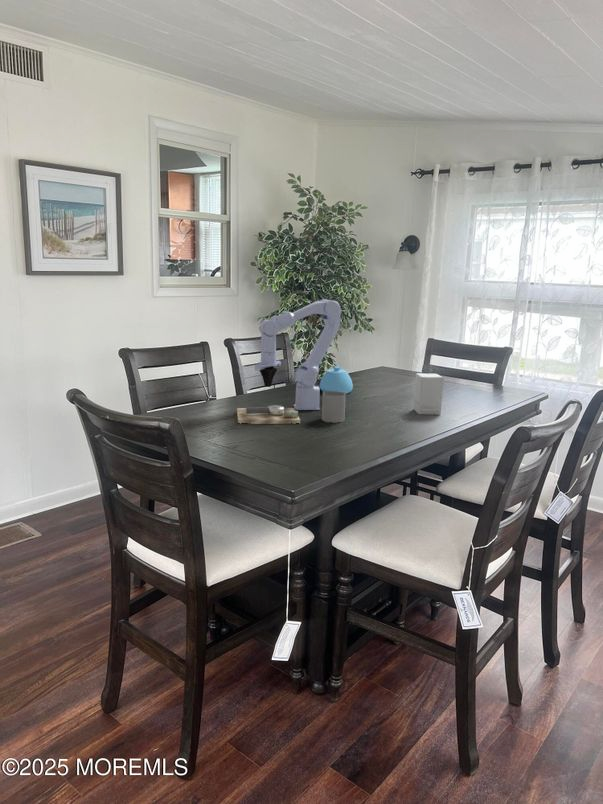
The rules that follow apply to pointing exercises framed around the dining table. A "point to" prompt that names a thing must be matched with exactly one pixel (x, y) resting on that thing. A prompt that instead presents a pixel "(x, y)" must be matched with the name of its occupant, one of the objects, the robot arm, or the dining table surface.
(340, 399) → the cup
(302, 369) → the robot arm
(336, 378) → the sugar bowl
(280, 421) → the oak board
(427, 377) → the supplement box
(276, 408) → the grey spoon
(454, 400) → the dining table surface
